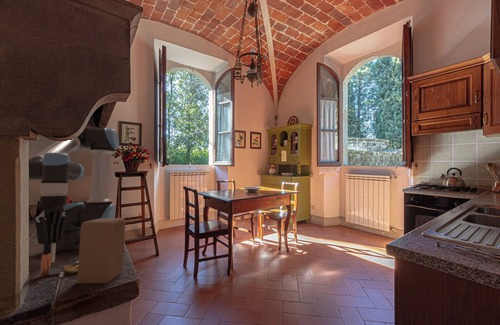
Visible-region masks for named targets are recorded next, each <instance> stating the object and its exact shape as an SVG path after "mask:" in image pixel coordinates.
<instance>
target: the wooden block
mask: <svg viewBox="0 0 500 325" xmlns="http://www.w3.org/2000/svg"><path fill="white" fill-rule="evenodd" d="M125 236H126V219H125V218H123V217H116V218H115V217H114V218H100V219H95V220H90V221H85V222H83V223H82V224H81V234H80V248H79V249H78V260H79V262H78V275H76V277H77V280H76V283H77V284H105V283H109V282H111V281H113V280H114V279H115V278H116V277H118V276H120V275H121V274H122V273H123V272H124V255H125V254H124V253H125Z"/></svg>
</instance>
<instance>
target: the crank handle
mask: <svg viewBox="0 0 500 325" xmlns="http://www.w3.org/2000/svg"><path fill="white" fill-rule="evenodd" d="M78 262H79V259H78V260H73V261H72V262H71V263H67V264H64V266H60V267H54V268H51V264H52V263H51V253H49V254H44V253H43V254H41V262H40V273H39V275H40V276H39V277H41V278H44V277H48V276H50V274H57V273H61V272H64V273H65V274H72V273H78Z"/></svg>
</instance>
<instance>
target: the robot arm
mask: <svg viewBox="0 0 500 325" xmlns="http://www.w3.org/2000/svg"><path fill="white" fill-rule="evenodd" d="M85 127H86V128H85V129H84V131H83V132H82V133H81V134H80V135H79V136H78V137H77V138H75V139H72V140H67V141H57V140H55V141H54V142H53V143H51V144H49V145H48V146H47V147H45V148H43V150H41V151H40V152H38V153H36V154H35V155H33V156H32V157H30V158H29V159H28V160H29V180H30V181H31V180H32V181H40V180H41V182H40V183H41V184H40V195H42V196H40V197H39V203H38V205H39V207H40V208H41V210H40V212H39V213H40V214H39V215H38V216H33V218H32V220H33V222H34V223H35V229H36V236H37V243H38V244H40V245H43V254H49V253H51V263H50V264H52V263H55V262H56V253H63V252H70V251H75V250H79V248H80V234H81V224H82V223H83V222H85V221H90V220H95V219H100V218H115V214H116V210H117V209H116V205H115V204H114V203H113V201H112V199H111V198H110V188H111V187H110V186H111V185H110V184H111V169H112V168H111V166H112V165H111V164H112V155H114V154H115V153H116V150H118V149H119V148H120V147H119V146H120V140H119V136H118V133H117V130H115V129H114V128H110V127H93V126H92V127H91V126H85ZM79 149H89V152H90V153H91V154H92V164H91V166H92V167H91V168H92V169H91V181H90V182H91V183H90V194H89V199H88V200H86V204H85V202H83V201H80V202H73V203H68V196H67V194H68V191H69V190H68V188H69V187H68V186H69V181H77V180H79V179H81V178H82V177H83V176H84V174H85V168H84V166H83V165H82V164H81V163H78V162H76V161H71V160H70V159H71V158H70V155H69V154H70V153H72V151H74V152H75V151H77V150H79ZM29 180H28V181H29Z"/></svg>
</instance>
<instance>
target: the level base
mask: <svg viewBox="0 0 500 325" xmlns="http://www.w3.org/2000/svg"><path fill="white" fill-rule="evenodd" d="M73 276H78V273H72V274H65V273H64V272H59V274H58V276H57V277H56V279H59V278H66V277H73Z"/></svg>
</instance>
